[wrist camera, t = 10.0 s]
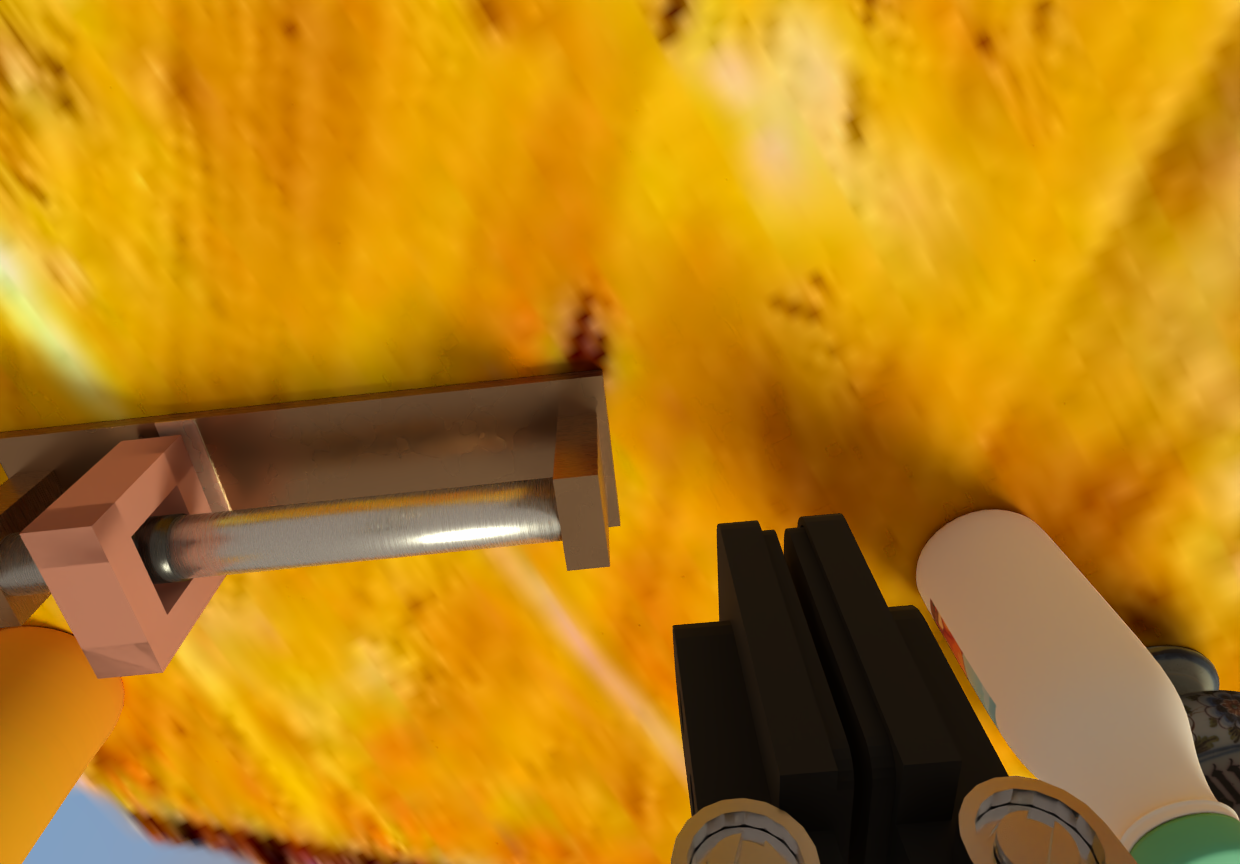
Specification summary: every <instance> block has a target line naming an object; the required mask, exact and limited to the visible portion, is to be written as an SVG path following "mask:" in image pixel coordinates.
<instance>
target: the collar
mask: <svg viewBox="0 0 1240 864" xmlns="http://www.w3.org/2000/svg"><path fill="white" fill-rule="evenodd" d="M210 512H212V511H211V509H210V506H209V504H208V501H207V499H206V496H205V494H204V491H203V489H202V486H201V484H200V481H199V479H198V476H197V474H196V471H195V469H194V466H193V464H192V461H191V459H190V456H189V454H188V451H187V449H186V446H185V444H184V441H183V439H182V436H181V435H174V436H165V437H155V438H146V439H136V440H127V441H121V442H120V443H119V444H117V445H116V446H115V447H114V448H113V449H112V450H111V451H110V452H109V453H107V454H106V455H105V456H104V457H103V458H102V459H101V460H100V461H99V462H98V463H96V464H95V465H94V466H93V467H92V468H91V469H90V470H89V471H88V472H87V473H85V474H84V475H83V476H82V477H81V478H80V479H79V480H78V481H77V482H76V483H74V484H73V485H72V486H71V487H70V488H69V489H68V490H67V491H66V492H64V493H63V494H62V495H61V496H60V497H59V498H58V499H57V500H56V501H55V502H53V503H52V504H51V505H50V506H49V507H48V508H47V509H46V510H45V511H44V512H42V513H41V514H40V515H39V516H38V517H37V518H36V519H35V520H34V521H33V522H31V523H30V524H29V525H28V526H27V527H26V528H25V529H24V530H23V531H21V532H20V533H19V535H20V536H21V538H22V540H23V542H24V544H25V546H26V547H27V549H28V551H29V553H30V555H31V557H32V558H33V560H34V562H35V564H36V566H37V568H38V570H39V571H40V573H41V575H42V577H43V579H44V581H45V582H46V584H47V586H48V588H49V590H50V592H51V594H52V595H53V597H54V599H55V601H56V603H57V605H58V606H59V608H60V610H61V612H62V614H63V616H64V617H65V619H66V621H67V623H68V625H69V627H70V629H71V630H72V632H73V634H74V636H75V638H76V640H77V641H78V643H79V645H80V647H81V649H82V651H83V653H84V654H85V656H86V658H87V660H88V662H89V664H90V665H91V667H92V669H93V671H94V673H95V675H96V676H97V678H98V679H102V678H112V677H122V676H132V675H142V674H152V673H162V672H164V670H165V669H166V667H167V666H168V664H169V662H170V661H171V659H172V658H173V656H174V655H175V653H176V652H177V650H178V649H179V647H180V646H181V644H182V642H183V641H184V639H185V638H186V636H187V635H188V633H189V632H190V630H191V629H192V627H193V626H194V624H195V622H196V621H197V619H198V618H199V616H200V615H201V613H202V612H203V610H204V609H205V607H206V606H207V604H208V602H209V601H210V599H211V598H212V596H213V595H214V593H215V592H216V590H217V589H218V587H219V586H220V584H221V582H222V581H223V579H224V578H225V576H226V575H220V576H210V577H200V578H191V579H190V580H188V581H182V582H172V583H162V584H153V583H152V581H151V579H150V577H149V575H148V572H147V570H146V568H145V566H144V564H143V562H142V560H141V557H140V555H139V553H138V551H137V549H136V547H135V544H134V542H133V540H132V538H131V536H132V535H133V534H134V533H135V532H136V531H137V530H138V529H139V527H140V526H141V525H142V524H143V523H144V522H145V521H146V519H147V518H148V517H151V516H161V515H170V514H180V513H184V514H187V515H191V514H201V513H210Z"/></svg>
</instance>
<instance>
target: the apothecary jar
mask: <svg viewBox="0 0 1240 864" xmlns="http://www.w3.org/2000/svg"><path fill="white" fill-rule="evenodd" d="M1147 650H1148V651H1149V652H1150V653H1151V655H1152V656H1153V657H1154V658H1155V660H1156V661H1157V662H1158V663H1159V665H1160V666H1161V667H1162V669H1163V670H1164V672H1165V673H1166V675H1167V676H1168V678H1169V679H1170V681H1171V682H1172V684H1173V685H1174V687H1175V689H1176V691H1177V693H1178V695H1179V697H1180V699H1181V701H1182V703H1183V706H1184V709H1185V711H1186V714H1187V717H1188V720H1189V724H1190V728H1191V732H1192V736H1193V741H1194V746H1195V750H1196V754H1197V757H1198V761H1199V764H1200V767H1201V769H1202V772H1203V774H1204V777H1205V779H1206V781H1207V784H1208V786H1209V788H1210V790H1211V792H1212V793H1213V795H1214V797H1215V798H1216V800H1217V801H1218V802H1221V803H1223V804H1226V805H1227V806H1229V807H1230V808H1232V809H1233V810H1234V811H1235V812H1236V814H1237V815H1238V818H1239V821H1240V692H1236V691H1225V690H1219V677H1218V674H1217V671H1216V669H1215V667H1214V665H1213V664H1212V663H1211V661H1210V660H1208V659H1207V658H1206V657H1205V656H1203V655H1202V654H1200V653H1198V652H1196V651H1194V650H1191V649H1188V648H1184V647H1178V646H1153V647H1147Z"/></svg>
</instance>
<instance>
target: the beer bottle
mask: <svg viewBox="0 0 1240 864" xmlns="http://www.w3.org/2000/svg"><path fill="white" fill-rule="evenodd" d="M123 706H124V687H123V682H122V680H121V678H120V677H112V678H102V679H98V678H97V676H96V675H95V673H94V671H93V669H92V667H91V665H90V664H89V662H88V660H87V658H86V656H85V654H84V653H83V651H82V649H81V647H80V645H79V643H78V641H77V640H76V638H75V636H73V635H70V634H68V633H65V632H62V631H58V630H54V629H50V628H43V627H32V626H20V627H13V628H7V629H3V630H0V864H22V862H23V861H24V860H25V858H26V857H27V855H28V853H29V852H30V851H31V849H32V848H33V846H34V845H35V843H36V842H37V840H38V839H39V837H40V835H41V834H42V833H43V831H44V830H45V828H46V827H47V825H48V824H49V822H50V821H51V819H52V818H53V816H54V815H55V813H56V812H57V810H58V809H59V807H60V806H61V804H62V803H63V801H64V800H65V798H66V797H67V795H68V794H69V792H70V791H71V789H72V788H73V786H74V785H75V783H76V782H77V781H78V779H79V778H80V776H81V775H82V773H83V772H84V770H85V769H86V767H87V766H88V764H89V763H90V761H91V760H92V759H93V757H94V756H95V755H96V753H97V752H98V750H99V749H100V748H101V746H102V745H103V744H104V742H105V741H106V740H107V738H108V737H109V735H110V734H111V732H112V731H113V729H114V727H115V725H116V723H117V721H118V719H119V716H120V714H121V711H122V708H123Z"/></svg>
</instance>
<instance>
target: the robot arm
mask: <svg viewBox="0 0 1240 864" xmlns="http://www.w3.org/2000/svg"><path fill="white" fill-rule="evenodd" d="M717 558H718V592H719V622H707V623H695V624H683V625H673V644H674V658H675V672H676V684H677V695H678V706H679V715H680V724H681V733H682V741H683V749H684V757H685V765H686V774H687V782H688V790H689V798H690V806H691V815H692V817H691V818H690V819H689V820H687V822H686V823H685V825H684V826H683V828H682V830H681V831H680V833H679V834H678V836H677V838H676V841H675V845H674V849H673V853H672V858H671V864H1138V863H1137V862H1136V860H1135V859H1134V858H1133V857H1132V855H1131V854H1130V853H1129V852H1128V850H1127V849H1126V848H1125V847H1124V845H1123V844H1122V843H1121V842H1120V840H1119V839H1118V838H1117V837H1116V835H1115V834H1114V833H1113V832H1112V830H1111V829H1110V828H1109V827H1108V825H1107V824H1106V823H1105V822H1104V821H1103V820H1102V819H1101V818H1100V817H1099V816H1098V815H1097V814H1096V813H1095V812H1094V811H1093V810H1092V809H1091V808H1090V807H1089V806H1088V805H1087V804H1085V803H1084V802H1082V801H1081V800H1079V799H1078V798H1076V797H1075V796H1073V795H1072V794H1070V793H1068V792H1067V791H1065V790H1063V789H1061V788H1059V787H1056V786H1054V785H1051V784H1049V783H1046V782H1044V781H1041V780H1037V779H1031V778H1025V777H1020V776H1008V774H1007V772H1006V770H1005V768H1004V766H1003V765H1002V763H1001V761H1000V759H999V757H998V755H997V753H996V751H995V750H994V748H993V746H992V744H991V742H990V740H989V738H988V737H987V735H986V733H985V731H984V729H983V727H982V725H981V723H980V722H979V720H978V718H977V716H976V714H975V712H974V710H973V708H972V707H971V705H970V703H969V701H968V699H967V697H966V695H965V693H964V692H963V690H962V688H961V686H960V684H959V682H958V680H957V679H956V677H955V675H954V673H953V671H952V669H951V667H950V665H949V664H948V662H947V660H946V658H945V656H944V654H943V652H942V650H941V649H940V647H939V645H938V643H937V641H936V639H935V637H934V636H933V634H932V632H931V630H930V628H929V626H928V624H927V622H926V621H925V619H924V617H923V615H922V614H921V613H920V611H919V610H918V609H917V608H916V607H915V606H913V605H908V606H896V607H888V606H887V604H886V602H885V600H884V598H883V596H882V594H881V592H880V590H879V588H878V586H877V584H876V582H875V579H874V577H873V575H872V573H871V571H870V569H869V567H868V565H867V563H866V561H865V559H864V557H863V555H862V553H861V551H860V549H859V546H858V544H857V542H856V540H855V538H854V536H853V534H852V532H851V530H850V528H849V526H848V524H847V522H846V520H845V518H844V516H843V515H842V514H840V513H838V514H827V515H815V516H803V517H800V518H799V520H798V527H797V528H788V529H786V530H785V533H784V554H783V552H782V549H781V546H780V543H779V540H778V537H777V534H776V532H775V530H764V531H762V530H761V527H760V524H759V522H758V521H745V522H733V523H722V524H718V525H717Z"/></svg>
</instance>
